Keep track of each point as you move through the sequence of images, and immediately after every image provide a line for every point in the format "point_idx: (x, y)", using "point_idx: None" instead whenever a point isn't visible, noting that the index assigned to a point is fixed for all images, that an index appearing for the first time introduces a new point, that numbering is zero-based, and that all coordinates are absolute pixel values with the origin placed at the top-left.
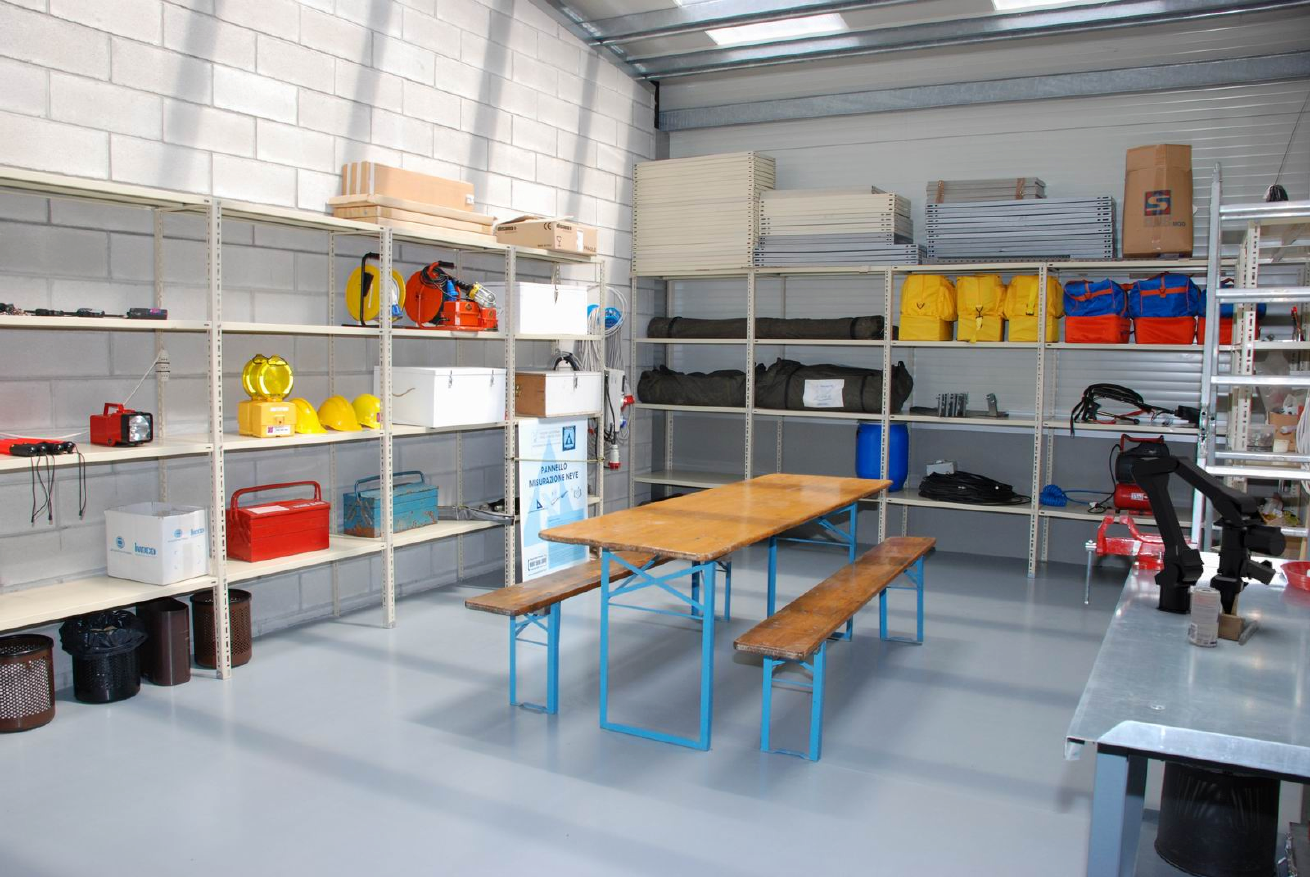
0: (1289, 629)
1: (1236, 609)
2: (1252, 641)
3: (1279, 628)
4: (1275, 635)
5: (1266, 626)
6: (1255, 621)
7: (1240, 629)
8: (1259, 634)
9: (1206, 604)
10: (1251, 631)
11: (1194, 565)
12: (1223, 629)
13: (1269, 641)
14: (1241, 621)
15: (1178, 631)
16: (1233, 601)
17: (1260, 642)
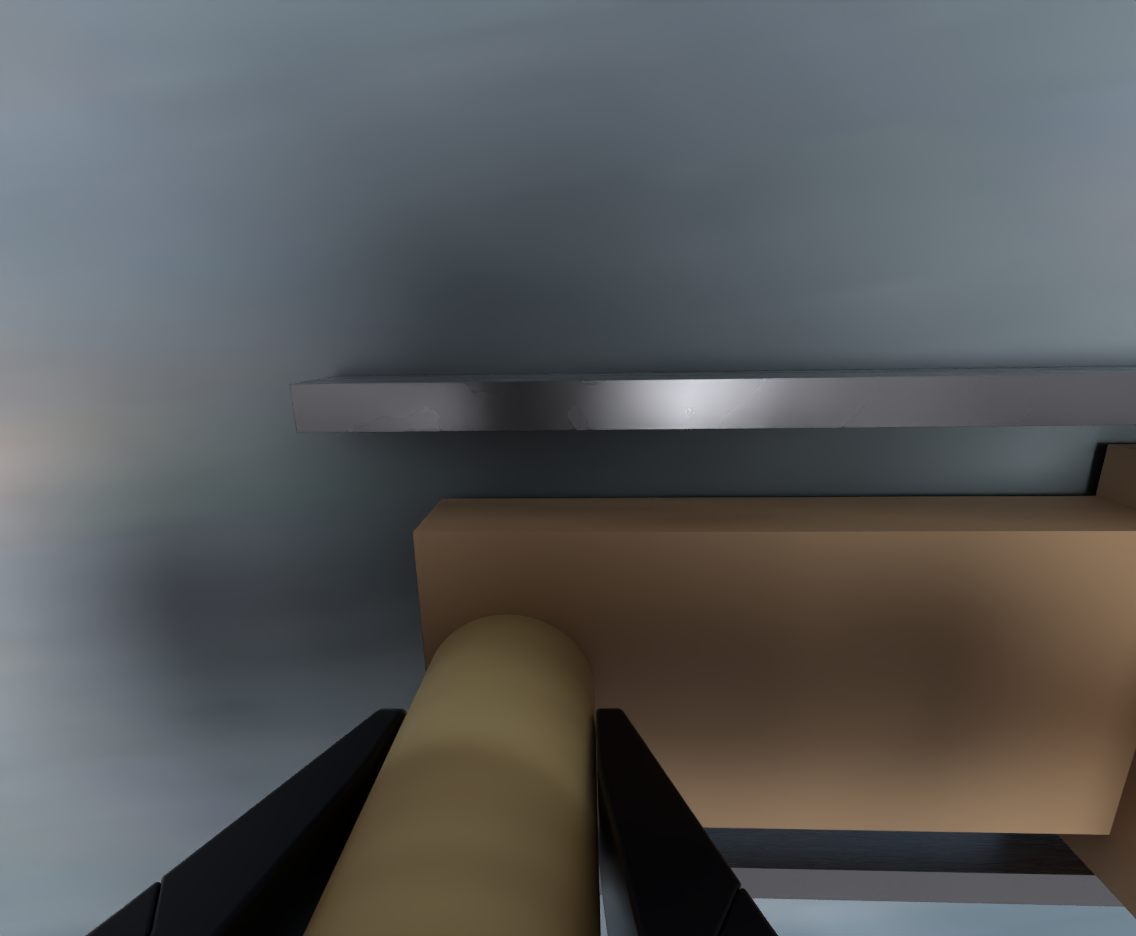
0: (95, 13)
1: (507, 705)
2: (1104, 303)
3: (160, 140)
4: (584, 116)
5: (200, 295)
6: (360, 403)
7: (688, 501)
8: (679, 295)
9: None
10: (793, 373)
11: None
12: None
13: (975, 124)
14: (627, 538)
15: (1096, 914)
16: (765, 926)
17: (1101, 213)
